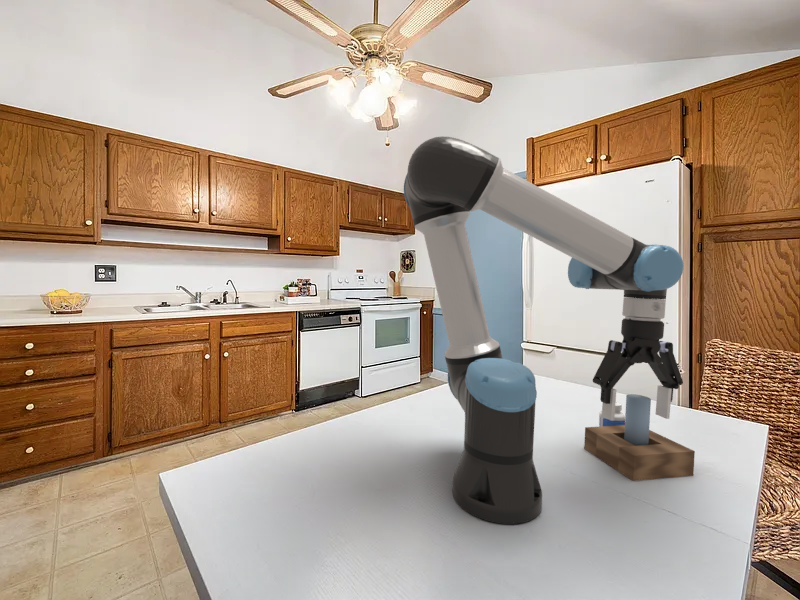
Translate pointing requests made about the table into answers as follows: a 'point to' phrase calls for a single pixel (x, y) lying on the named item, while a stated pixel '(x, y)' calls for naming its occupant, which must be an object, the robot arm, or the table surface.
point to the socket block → (639, 454)
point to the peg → (637, 419)
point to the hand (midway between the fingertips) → (635, 417)
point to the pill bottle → (618, 418)
